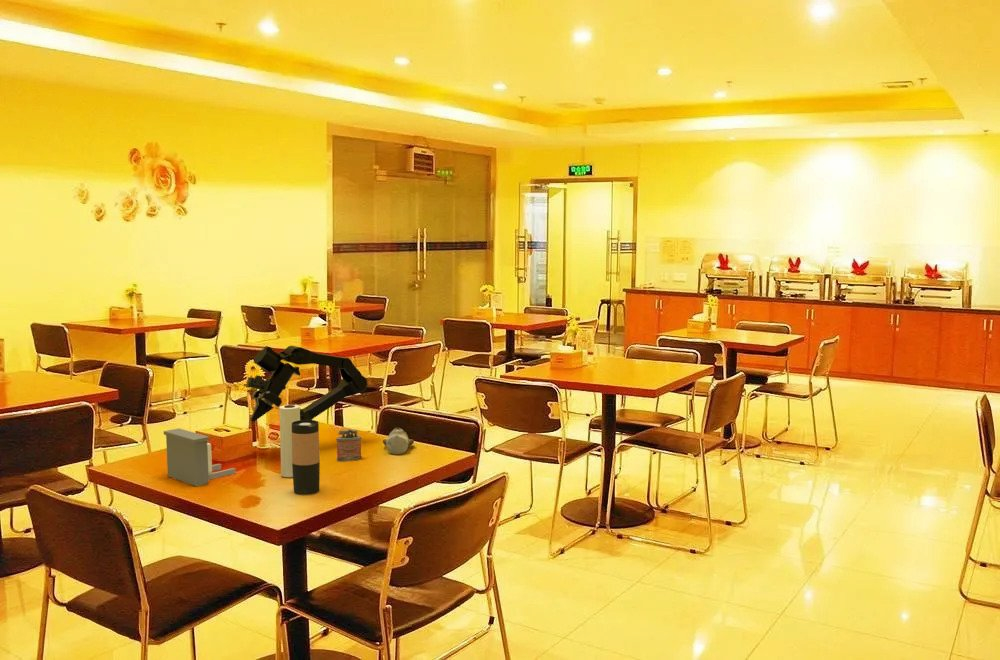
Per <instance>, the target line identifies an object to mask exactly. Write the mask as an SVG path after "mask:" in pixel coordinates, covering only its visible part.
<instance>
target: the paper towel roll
mask: <svg viewBox="0 0 1000 660" xmlns="http://www.w3.org/2000/svg"><path fill="white" fill-rule="evenodd" d="M278 409H279V440H280V442H279V443H280V447H279V448H280V473H281V474H280V475H281V477H284V478H293V469H292V422H295V421H299V420H300V409H301V408H300V405H299V404H297V403H295V404H285V405H282V406H281V405H280V406H279V407H278Z"/></svg>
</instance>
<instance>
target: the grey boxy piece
mask: <svg viewBox="0 0 1000 660" xmlns="http://www.w3.org/2000/svg"><path fill="white" fill-rule="evenodd" d="M163 435H165V439H166V443H165V445H166V463H167V464H166V465H167V466H166V467H167V477H168V478H170V477H171V479H173V478H174V480H176V479H177V480H176V481H179V480H180V481H179V482H182V483H185V484H188V485H190V484H191V486H193V485H194V487H196V486H197V487H200V486H203V485H209V484H210V482H209V480H213V479H218V478H221V477H226V476H230V475H234V474H236V468H235V467H231V468H227V469H224V470H223V469H222V464H221V463H216V464H212V473H210V474H208V448H207V443H208V441H211V440H210V438H211V437H210V436H208V435H205V434H201V433H197V432H194V431H189V430H187V429H182V428H174V429H167V430H163ZM221 469H222V470H221ZM218 470H220V471H218Z"/></svg>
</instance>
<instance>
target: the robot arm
mask: <svg viewBox="0 0 1000 660" xmlns="http://www.w3.org/2000/svg"><path fill="white" fill-rule="evenodd" d="M253 363H254V364H255V365H256V366H258V367H259V368H260V369H263V370H264V371H266V372H267V373H271V372H272V373H271V375H270V376H269V377H267V378H266V379H265V380H264V379H263V377H262V375H255V377H249V376H248V377H247V380H246V384H245V387H246V388H251V389H258V390H254V391H253V393H252V394H251V397H252V398H253V399H254V401H255V407H254V409H253V412H252V415H251V418H250V421H252V423H254V422H256V421H257V420H259V419H260V418H262V417H263V416H264V415H265V414H267V413H268V412H270V411H272V410H274V406H275V407H277V408H279V407H281V405H282V403H283V401H282V397H280V395H281V394H282V393H283V391H284V390H286V389H287V385H288V383H289V382H290V380H291V378H292V377H293V375H294V376H295V375H296V376H298V377H300V376H301V371H300V366H293V365H292V364H294V365H303V366H304V365H312V364H313V365H320V366H326V367H331V368H332V367H333V368H338V370H339V375H340V376H341V380H340V381H339V383H338V385H337V386H336V387H334V388H333V389H331V390H330V391H328V392H326V393H325V394H323V395H321V397H319V398H318V399H315V400H314V401H313V402H311V403H310V404H308V405H306V407H304V408H300V420H314V419H315V418H316V417H317V416H320V415H321V414H322V413H324V412H325V411H327V410H329V409H330V408H331V407H333V406H334V405H336V404H338V403H339V402H341V401H342V400H344V399H345V398H347V397H351V396H355V395H358V394H360V393H362V392H364V391H365V390H367V388H368V387H367V386H368V380H367V378H366V377H365V376H364V375H362V372H360V370H359V369H358V367H356V365H355V364H354V363H353V362H352V360H351V359H350V358H349V357H346V356H335V355H330V354H326V353H325V354H324V353H319V352H314V351H311V350H309V349H306V348H303V347H301V346H296V345H289V346H287V347H286V348H285V349H284V350H282V351H280V352H276V351H274V350H273V349H272V348H271V347H270V346H267V345H265V346H264V348H262V349H261V350H260V351H259V352H258V353H256V354H255V356H254V359H253ZM273 405H274V406H273Z"/></svg>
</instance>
